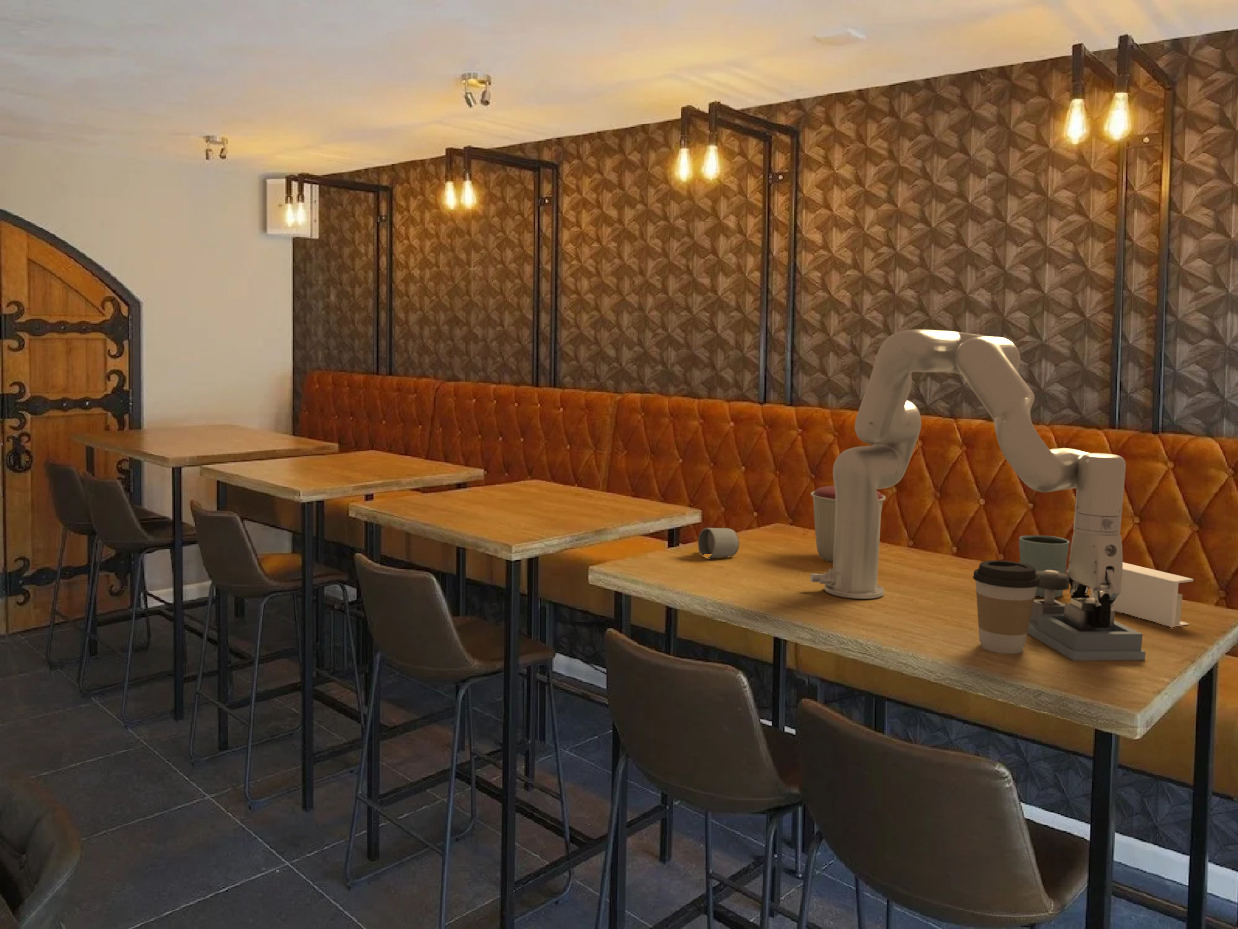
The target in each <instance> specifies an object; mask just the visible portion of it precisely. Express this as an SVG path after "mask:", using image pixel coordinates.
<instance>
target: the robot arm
mask: <svg viewBox="0 0 1238 929" xmlns="http://www.w3.org/2000/svg"><path fill="white" fill-rule="evenodd" d="M1020 365H1021V354H1020V352H1019V349H1018V347H1017V346H1016V344H1014V343H1013V342H1012V341H1011V340H1009V339H1007V338H1006V337H1001V336H989V335H981V334H974V333H968V332H967V333H966V332H961V331H955V330H953V331H952V330H941V329H938V330H937V329H936V330H935V329H925V328H921V329H918V328H916V329H906V330H902V331H897V332H894V333H893V334H891V335H889V336H888V337H887V338H885V339H884V341H883V342H882V343H881V345H880V347H879V349H878V350H877V354H876V356H875V360H874V362H873V368H872V371H871V375H870V378H869V381H868V382H867V385H866V388H865V392H864V394H863V397H862V399H861V403H860V405H859V409H858V411H857V414H856V417H855V421H854V431H855V434H856V436H857V438H858V439H859V440H860V441H861V442H863V443H865V444H868V445H863V446H855V447H851V448H848V449H845V450H844V451H842V452H841V453H840V454H838V455H837V457H836V458H835V461H834V463H833V466H832V478H833V486H835V497H836V509H835V535H834V555H833V562H832V568H828V571H825V572H824V573H810V576H809V579H810V583H818V584H820V585H821V584H822V585H824V591H825V592H826V593H828V594H829V595H833V596H836V597H841V598H845V599H846V598H847V599H857V600H858V599H859V600H861V599H862V600H870V599H871V600H872V599H878V598H881V597H883V596H884V595H885V588H884V587H883V586H881V585H880V584H878V577H879V576H878V574H879V557H880V537H881V521H882V520H881V519H882V518H881V516H882V510H881V508H880V503H879V499H878V495H877V491H878V490H882V489H888V488H892V487H894V486H895V485H897V484H898V483H899V482H901V480H902V479H903V477H904V475H905V473H906V471H907V469H908V466H909V464H910V460H911V459H912V455H913V452H914V450H915V447H916V445H917V441H918V439H919V436H920V433H921V428H922V416H921V413H920V410H919V409H918V407H917V406H916V405H915V404H914V403H913V402H911V401H910V400H908V398H909V396H910V392H911V389H912V383H913V382H912V380H913V377H912V373H915V372H917V373H918V372H920V373H950V374H958V375H961V376H962V377H963V380H965V382H966V383H967V384H968V386H969V387H970V388H971V390H972V391H973V393H974V394H975V395H976V397H977V398H978V400H979V401H980V403H981V404H982V405H983V407H984V408H985V410H986V411H987V413H988V414H989V415H990V418H991V419H992V421H993V423H994V424H993V425H994V430H995V436H996V439H997V444H998V446H999V449H1000V450H1001V453H1002V455H1003V456H1004V458H1005V460H1006V461H1007V463H1008V464H1009V465H1010V467H1011V468H1012V469H1013V471H1014V472H1015V474H1016V475H1017V476H1018V477H1019V479H1020V480H1021V481H1022V482H1023V483H1024V484H1025V486H1027V487H1028V488H1030V489H1031V490H1033V491H1036V492H1040V493H1050V492H1056V491H1064V490H1070V489H1076V492H1075V507H1074V515H1073V516H1074V519H1073V528H1072V529H1073V535H1072V539H1071V543H1070V551H1069V557H1068V558H1069V559H1068V567H1066V572H1065V573H1066V574H1067V575H1068V578H1069V593H1070V599H1071V598H1090V595H1089V594H1088V592H1089V589H1090V590H1091V589H1093V593H1094V600H1095V605H1092V615H1091V627H1093V628H1109V626H1110V615H1111V606H1113V602H1114V601H1115V600H1116V597H1117V596H1118V595H1119V594H1120V593H1121V589H1120V588H1121V585H1122V569H1123V562H1124V561H1123V559H1124V558H1123V542H1122V535H1121V526H1122V513H1123V503H1124V502H1123V501H1124V492H1125V480H1126V467H1127V466H1126V459H1124V457H1122V455H1121V456H1120V455H1118V454H1112V453H1102V452H1101V453H1100V452H1091V453H1090V452H1088V451H1087V452H1086V451H1082V450H1080V449H1075V448H1067V447H1062V448H1059V447H1058V448H1051V449H1050V448H1049V447H1048V446H1047V444H1046V443H1045V441H1043V439H1042V437H1041V436H1040V435H1039V433H1038V431H1037V430H1036V428H1035V426H1034V424H1033V422H1032V418H1031V417H1032V416H1031V411H1032V410H1031V409H1032V406H1033V404H1034V402H1035V393H1034V392H1033V390H1032V389H1031V388H1030V386H1028V384H1027V383H1026V381H1025V380H1024V379H1023V377H1022V376H1021V375H1020V373H1019V372H1018V370H1019V367H1020ZM1100 585H1104V586H1105V588H1101V586H1100ZM1100 592H1105V594H1104V595H1103V596H1102V597H1101V596H1100Z"/></svg>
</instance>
